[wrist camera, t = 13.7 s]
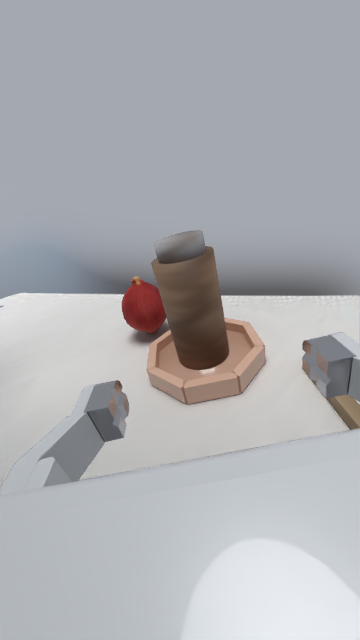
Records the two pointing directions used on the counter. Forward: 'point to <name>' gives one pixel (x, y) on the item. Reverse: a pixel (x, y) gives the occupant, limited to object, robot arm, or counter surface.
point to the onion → (143, 307)
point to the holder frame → (346, 409)
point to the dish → (210, 382)
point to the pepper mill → (191, 299)
